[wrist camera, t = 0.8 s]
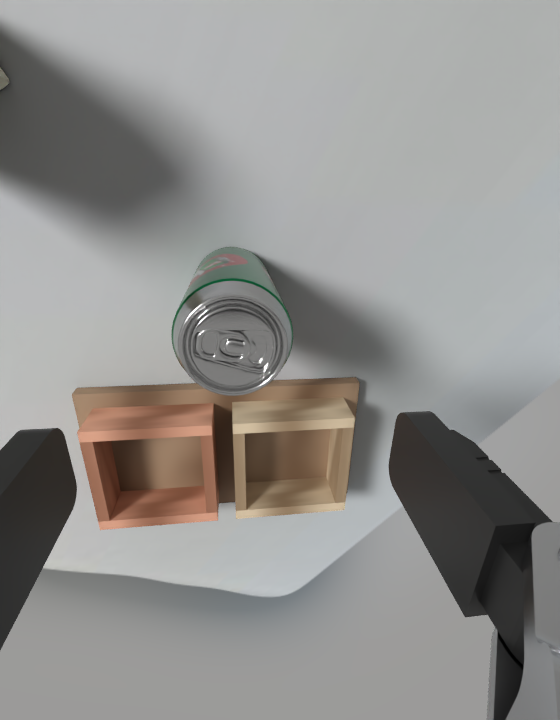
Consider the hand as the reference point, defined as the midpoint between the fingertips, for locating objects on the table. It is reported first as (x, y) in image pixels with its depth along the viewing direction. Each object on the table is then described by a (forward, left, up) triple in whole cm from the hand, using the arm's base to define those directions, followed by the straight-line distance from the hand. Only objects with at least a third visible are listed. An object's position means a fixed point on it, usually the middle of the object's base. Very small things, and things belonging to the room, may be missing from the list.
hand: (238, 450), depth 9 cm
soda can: (0, 0, -18) cm, 18 cm away
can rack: (+1, +13, -18) cm, 22 cm away
